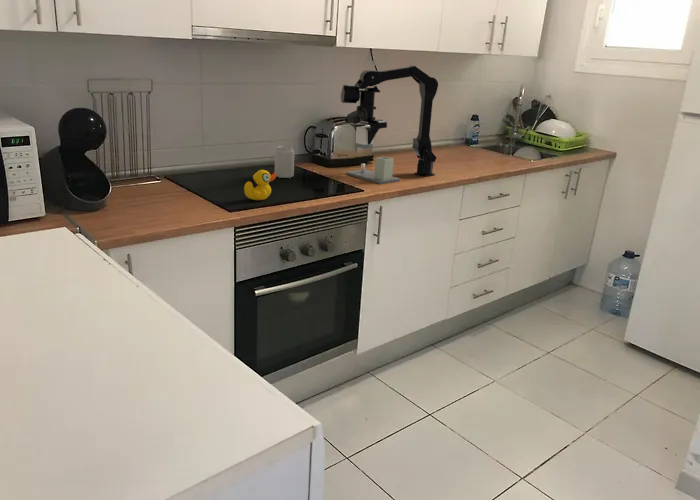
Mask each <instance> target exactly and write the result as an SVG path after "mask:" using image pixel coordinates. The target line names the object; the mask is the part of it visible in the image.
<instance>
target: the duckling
mask: <svg viewBox="0 0 700 500" xmlns="http://www.w3.org/2000/svg"><path fill="white" fill-rule="evenodd" d="M252 178H253V180H254V182H255V184H256V187H254V185H253V183H252V181H247V182H245V184H244V188H243V190H244V191H243V192H244V195H245V197H247V198H248V199H250V200H252V201H265V200H266V199H267V198H268V197H269V196H270V195H271V193H272V187H271V186H270V184H269V183H270V182H273V181H274V180H275V179H276V178H277V177H276V173H275V171H274V172H273V173H272V174H270V172H269V171H268V170H265V169H259V170H257V172H255V173H254V174H253V176H252Z"/></svg>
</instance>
